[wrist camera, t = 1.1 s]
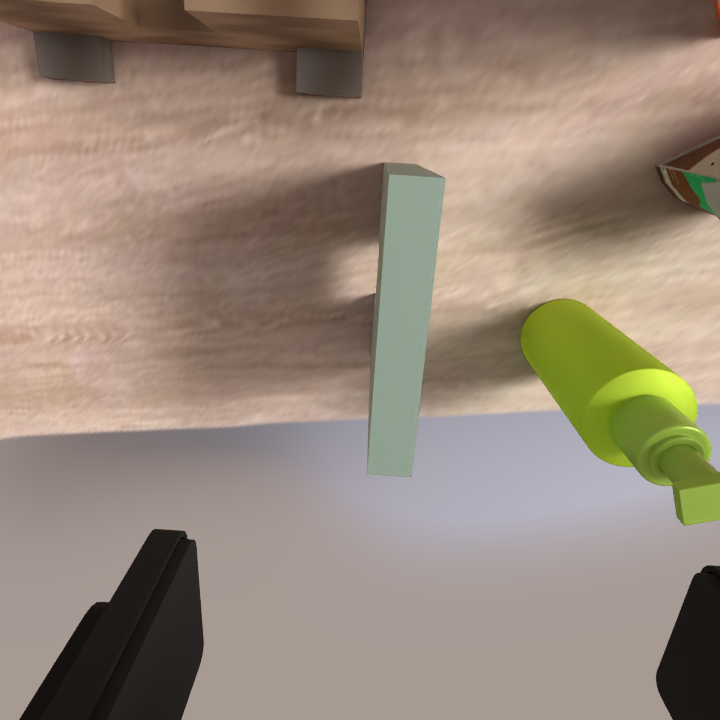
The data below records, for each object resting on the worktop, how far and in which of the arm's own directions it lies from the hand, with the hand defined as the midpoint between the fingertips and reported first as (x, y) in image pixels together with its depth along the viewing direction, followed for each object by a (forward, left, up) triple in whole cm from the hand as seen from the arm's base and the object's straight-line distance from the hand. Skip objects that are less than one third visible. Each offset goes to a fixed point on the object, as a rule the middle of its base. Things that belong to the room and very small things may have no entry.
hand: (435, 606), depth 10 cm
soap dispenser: (+11, +9, -31) cm, 34 cm away
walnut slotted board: (-19, -3, -30) cm, 36 cm away
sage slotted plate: (0, 0, -30) cm, 30 cm away
